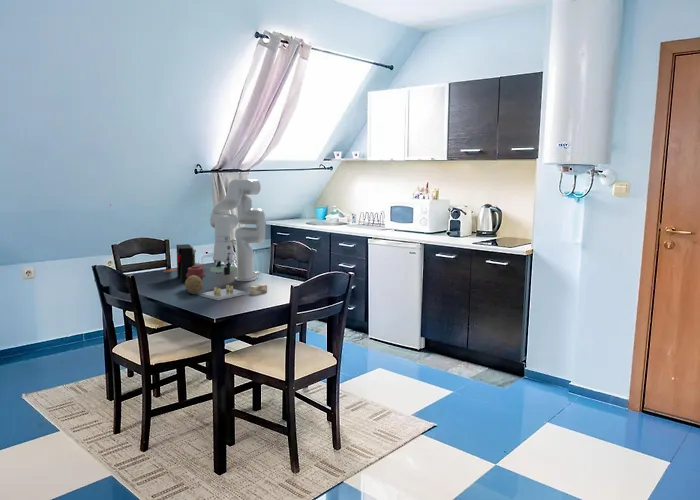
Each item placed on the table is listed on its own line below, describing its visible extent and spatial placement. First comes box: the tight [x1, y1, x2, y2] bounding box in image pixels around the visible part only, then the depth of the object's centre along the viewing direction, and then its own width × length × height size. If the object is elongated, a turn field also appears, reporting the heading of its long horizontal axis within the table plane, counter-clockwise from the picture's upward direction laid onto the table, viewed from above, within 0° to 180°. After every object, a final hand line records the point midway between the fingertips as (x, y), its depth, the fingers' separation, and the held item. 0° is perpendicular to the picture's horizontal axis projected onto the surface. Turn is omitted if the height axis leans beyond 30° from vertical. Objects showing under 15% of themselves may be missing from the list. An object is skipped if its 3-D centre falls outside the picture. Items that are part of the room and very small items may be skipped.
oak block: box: [249, 283, 268, 296], centre depth 290 cm, size 9×4×4 cm, turn 141°
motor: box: [163, 262, 210, 273], centre depth 350 cm, size 23×22×5 cm
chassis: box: [200, 284, 247, 301], centre depth 283 cm, size 18×14×4 cm
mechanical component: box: [186, 266, 206, 286], centre depth 299 cm, size 12×10×10 cm
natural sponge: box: [184, 275, 204, 295], centre depth 285 cm, size 9×9×10 cm
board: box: [209, 265, 236, 274], centre depth 281 cm, size 11×6×2 cm, turn 141°
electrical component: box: [176, 243, 197, 284], centre depth 322 cm, size 18×10×20 cm, turn 22°
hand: (222, 273), depth 281 cm, fingers closed on board, 6 cm apart
